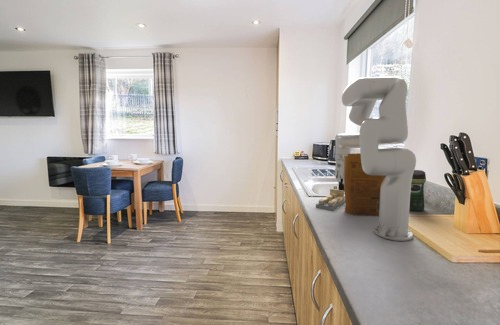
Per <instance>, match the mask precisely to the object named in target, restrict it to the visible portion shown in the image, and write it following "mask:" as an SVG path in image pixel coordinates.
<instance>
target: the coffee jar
mask: <svg viewBox="0 0 500 325" xmlns="http://www.w3.org/2000/svg"><path fill="white" fill-rule="evenodd" d="M426 176H427V175H426V171H424V170H421V169H414V173H413V176H412V182H411V193H410V207H409V211H410V212H411V211H413V212H422V211H424V210H425V193H424V190H425V189H424V187H425V184H426V181H427V178H426Z"/></svg>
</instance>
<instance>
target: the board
mask: <svg viewBox="0 0 500 325" xmlns="http://www.w3.org/2000/svg"><path fill="white" fill-rule="evenodd" d="M333 195H334V198H336V196H337V195H338V194H336V193H333ZM327 196H328V195H327ZM328 198H329V201H331V200H332V198H333V196H328ZM341 205H342V206H344V205H345V196H344V200H342V201H341V202H339V203H337V204H336V205H334V206H328V202H327V203H325V204H319V202H317V203H316V204H315V207H316V208H318V207H320V208H319V209H323V208H325V209H324V210H328V209H329V210H330V211H335V210H337V209H339V208H340V207H342V206H341Z"/></svg>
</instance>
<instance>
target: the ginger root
mask: <svg viewBox="0 0 500 325" xmlns="http://www.w3.org/2000/svg"><path fill="white" fill-rule="evenodd" d="M333 193H336V194H338V195H337V196H336V198H334V195H333ZM328 196H333V198H332V200H331V201H329V198H328ZM344 197H345V192H344V190H339V189H336V188H330V189H329V195H326V196H325V197H323V198H321V199H318V203H319V204H325V203H327V202H328V206H334V205H336V204H337V203H339V202H341V201H342V200H344Z"/></svg>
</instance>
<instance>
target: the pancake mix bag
mask: <svg viewBox="0 0 500 325" xmlns="http://www.w3.org/2000/svg"><path fill="white" fill-rule="evenodd" d="M385 176H386V175H377V176H373V175H367V174H366V173H365V172H364V171H363V169H362V165H361V154H360V153H359V152H358V153H350V154H348V156H345V158H344V175H343V178H344V197H345V204H344V205H345V208H344V213H345V214H348V215H352V216H372V217H379V205H380V187H381V183H382V181H383V179H384V178H385Z"/></svg>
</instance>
